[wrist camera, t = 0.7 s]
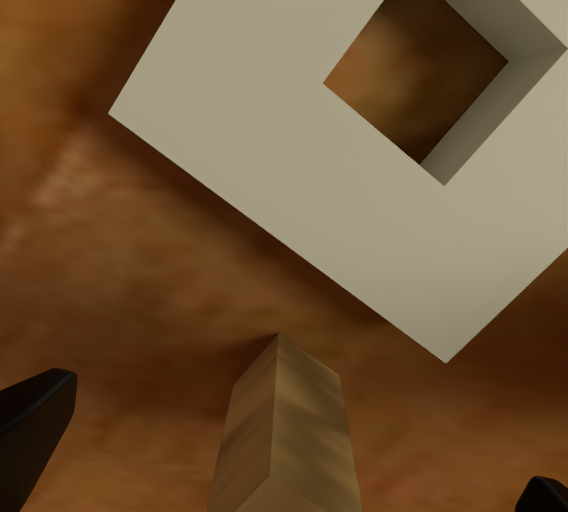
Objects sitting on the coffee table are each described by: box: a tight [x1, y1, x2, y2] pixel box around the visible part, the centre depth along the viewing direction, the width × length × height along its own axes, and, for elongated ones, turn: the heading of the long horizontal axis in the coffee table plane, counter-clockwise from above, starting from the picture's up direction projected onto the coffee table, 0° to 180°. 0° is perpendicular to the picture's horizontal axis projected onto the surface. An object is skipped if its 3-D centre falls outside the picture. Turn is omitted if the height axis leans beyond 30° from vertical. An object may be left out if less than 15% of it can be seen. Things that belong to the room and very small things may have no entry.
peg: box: [206, 333, 363, 512], centre depth 18 cm, size 4×4×9 cm
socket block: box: [108, 0, 568, 363], centre depth 16 cm, size 16×16×4 cm
